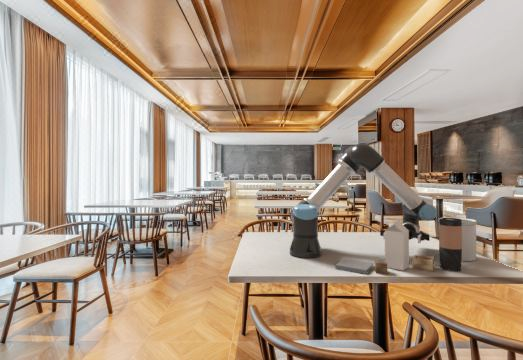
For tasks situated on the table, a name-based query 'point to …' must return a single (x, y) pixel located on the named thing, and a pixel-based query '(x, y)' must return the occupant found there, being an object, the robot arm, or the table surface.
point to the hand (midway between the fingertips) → (400, 238)
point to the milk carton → (397, 246)
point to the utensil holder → (468, 239)
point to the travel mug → (450, 243)
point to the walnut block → (380, 267)
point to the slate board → (355, 266)
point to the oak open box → (423, 263)
